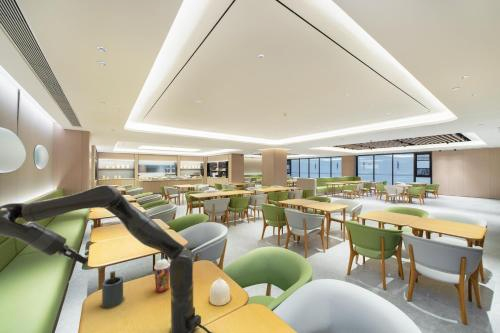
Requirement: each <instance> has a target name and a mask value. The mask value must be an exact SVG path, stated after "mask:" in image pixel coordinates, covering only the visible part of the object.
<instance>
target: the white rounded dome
mask: <svg viewBox="0 0 500 333" xmlns="http://www.w3.org/2000/svg"><path fill="white" fill-rule="evenodd" d="M230 301H231V289H230V286H229V284H228V282H227V281H226V280H224V279H223V278H221V276H219V277H218V278H217V279H216V280H214V281H213V283H212V284H211V286H210V289H209V303H211V304H212V305H213V306H223V305H226V304H228V303H229V302H230Z"/></svg>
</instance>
